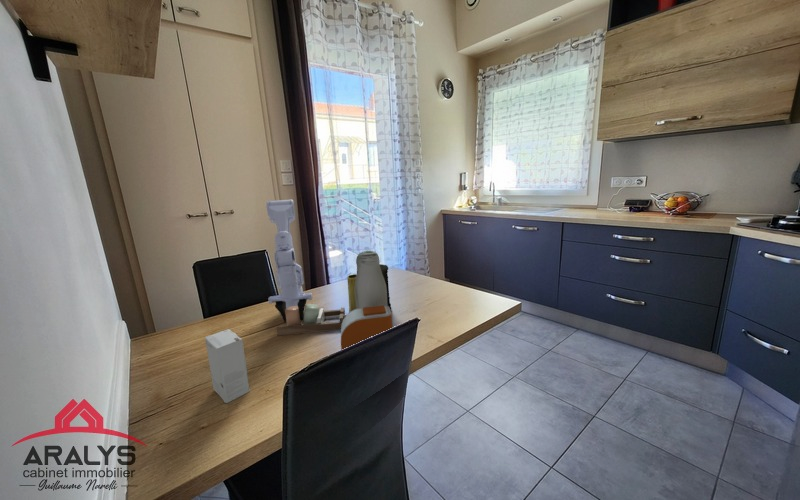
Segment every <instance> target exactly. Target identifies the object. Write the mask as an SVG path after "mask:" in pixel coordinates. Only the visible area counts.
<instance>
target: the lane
mask: <svg viewBox="0 0 800 500" xmlns="http://www.w3.org/2000/svg"><path fill="white" fill-rule="evenodd" d="M345 311H346V310H345V307H341V308H339V309H330V310H329V309H328V310H324V316H325V317H328V316H338V315H340V317H339V318H338V319H339V321H338V320H337V321H328V322H324V323H318V322H317V323H315V324H305V325H303V324H302V325H295V326H287V325H286V326H277V327H276V333H277V334H276V335H277V336H287V335H295V334H306V333H317V332H325V331H327V332H328V331H336V330H337V331H338V330H341V325H342V322H343V319H344V318H345V317H344V315H346V312H345ZM303 316H304V314H303Z"/></svg>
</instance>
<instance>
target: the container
mask: <svg viewBox="0 0 800 500" xmlns="http://www.w3.org/2000/svg"><path fill="white" fill-rule="evenodd" d="M380 268H381V272H382V275H383V277H384V280H385V283H386V289H387V306H389V307H390V310H391V311H392V306H391V305H392V304H391V302H390V299H391V297H390V289H389V286H390V285H389V276H388V273H389V271H388V270H389V266H388V265H386V264H383V263H382V264H380Z"/></svg>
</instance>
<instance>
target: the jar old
mask: <svg viewBox="0 0 800 500" xmlns="http://www.w3.org/2000/svg"><path fill="white" fill-rule="evenodd" d="M320 309H321V307H320V306H319V305H318V304H316V303H315V304H314V303H307V304H305V308H304V316H303V320H302V325H305V324H315V323H318V322H317V317H318V314H319V311H320Z"/></svg>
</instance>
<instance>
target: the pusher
mask: <svg viewBox="0 0 800 500" xmlns="http://www.w3.org/2000/svg"><path fill="white" fill-rule="evenodd" d="M324 311H325V309H324V308H322V307H320V308H319V314H318V317H317V323H325V320H329V319H339V317H340V315H338V316H328V317H325V316H324ZM346 315H347V314H345V315H344V317H345V316H346Z"/></svg>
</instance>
